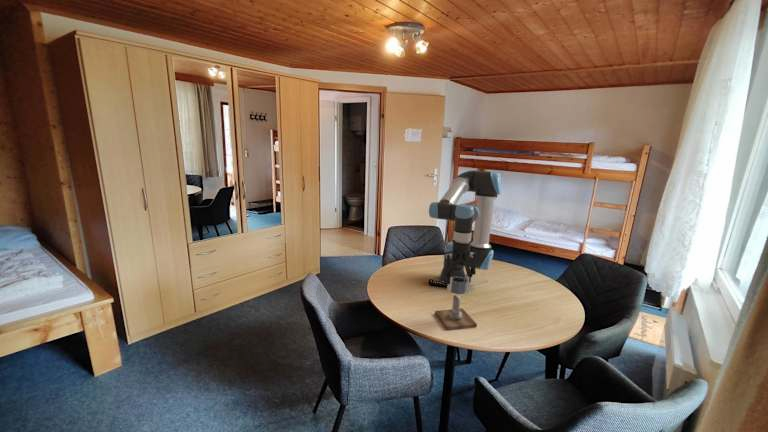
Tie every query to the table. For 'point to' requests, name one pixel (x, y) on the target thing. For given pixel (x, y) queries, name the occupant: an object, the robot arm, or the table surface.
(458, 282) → the collar
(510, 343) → the table surface
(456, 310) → the shaft block
